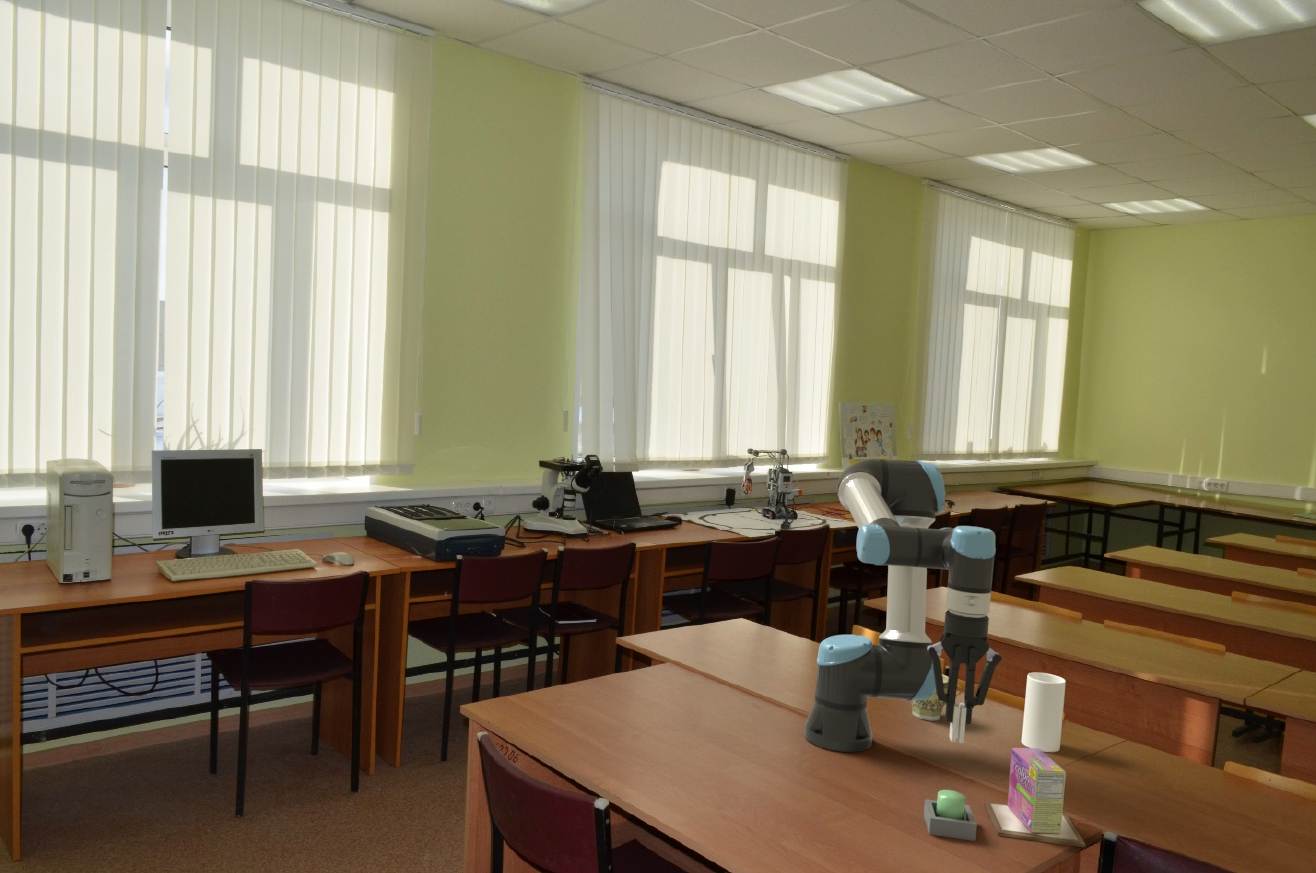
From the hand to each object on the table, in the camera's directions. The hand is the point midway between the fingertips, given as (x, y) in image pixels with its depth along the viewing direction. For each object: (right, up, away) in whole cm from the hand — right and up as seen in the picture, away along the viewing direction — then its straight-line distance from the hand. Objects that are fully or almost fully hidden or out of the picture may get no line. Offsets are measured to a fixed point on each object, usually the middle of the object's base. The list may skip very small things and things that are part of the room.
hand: (956, 739), depth 168 cm
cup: (+35, -17, +47) cm, 61 cm away
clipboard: (+16, -17, +4) cm, 24 cm away
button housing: (-1, -16, +1) cm, 16 cm away
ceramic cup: (+14, -15, +61) cm, 64 cm away
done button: (-1, -15, +1) cm, 15 cm away
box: (+16, -17, +4) cm, 23 cm away
